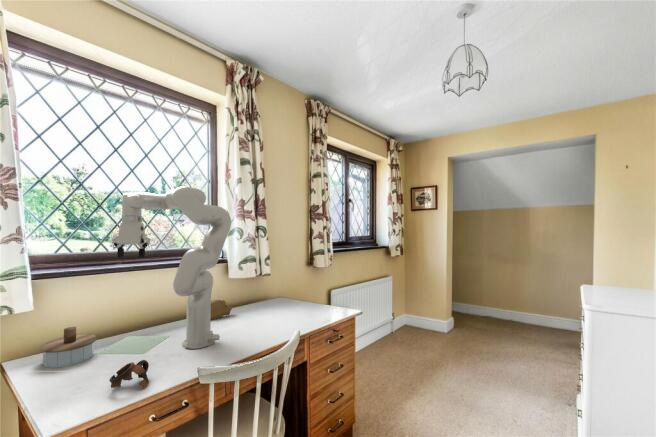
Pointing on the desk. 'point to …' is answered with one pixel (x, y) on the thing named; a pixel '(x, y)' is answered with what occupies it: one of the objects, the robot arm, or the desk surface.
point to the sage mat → (134, 345)
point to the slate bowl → (67, 357)
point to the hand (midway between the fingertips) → (131, 257)
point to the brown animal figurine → (126, 374)
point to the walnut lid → (68, 341)
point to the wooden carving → (219, 309)
